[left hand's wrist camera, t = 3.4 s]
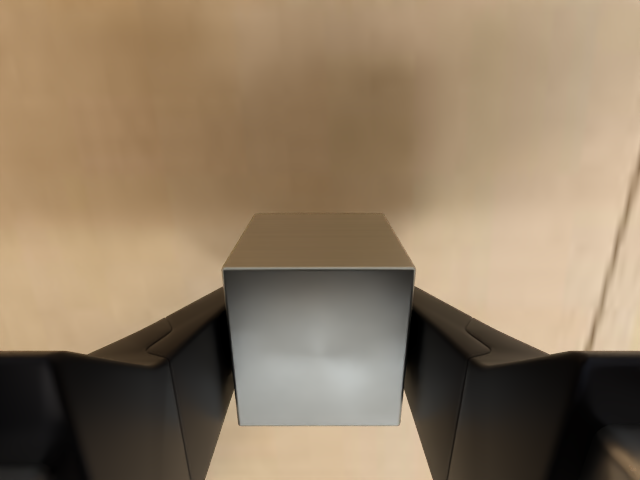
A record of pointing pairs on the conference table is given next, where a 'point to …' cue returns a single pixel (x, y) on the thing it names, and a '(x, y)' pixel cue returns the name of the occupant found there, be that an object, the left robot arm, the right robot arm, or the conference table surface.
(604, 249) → the conference table surface
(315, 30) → the conference table surface
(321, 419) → the block
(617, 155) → the conference table surface
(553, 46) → the conference table surface
